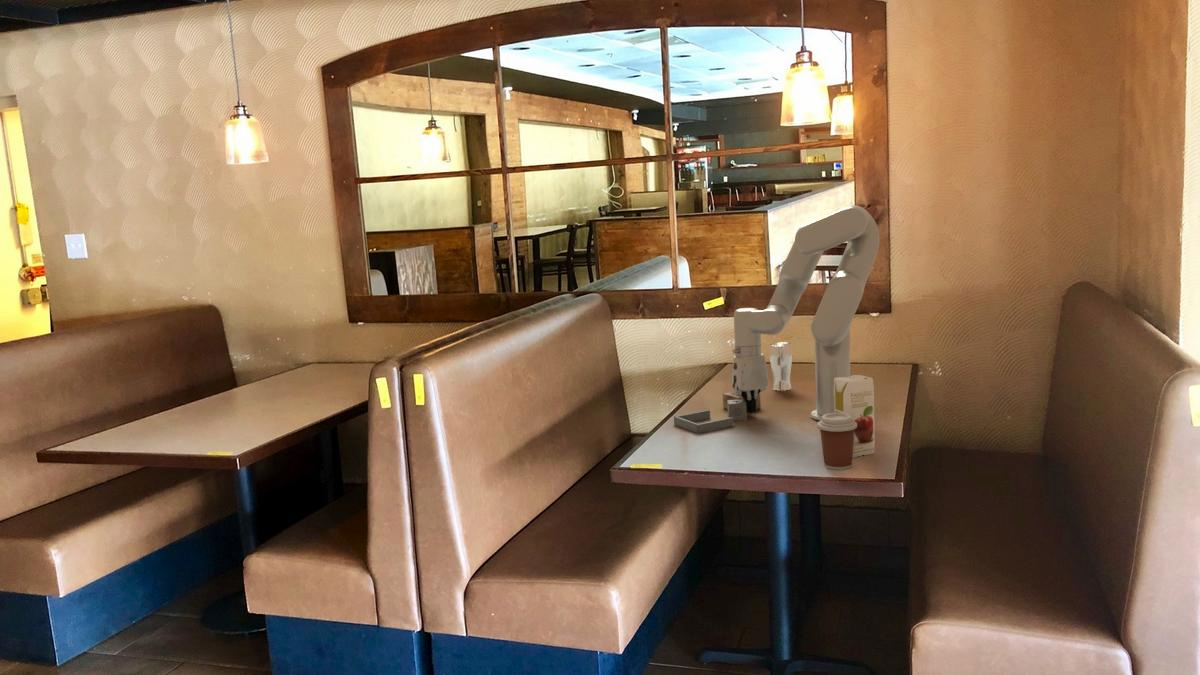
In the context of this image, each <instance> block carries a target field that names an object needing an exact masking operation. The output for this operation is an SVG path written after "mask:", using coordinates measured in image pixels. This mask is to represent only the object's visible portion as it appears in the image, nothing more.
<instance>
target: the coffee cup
mask: <svg viewBox="0 0 1200 675" xmlns="http://www.w3.org/2000/svg"><path fill="white" fill-rule="evenodd" d="M816 426H817V429H818V430H819V431H820V439H821V447H822V455H823V457H822V458H823V466H824V467H825V468H826V467H827V468H826V469H828V468H829V470H833V469H835V470H834V471H839V470H840V471H843V469H844V470H849V469H851V468H852V467H853V458H852V456H853V441H854V429H856V428H857V423H856V422H855V421H854V420H853V419H852V416H851V415H849V414H845V413H829V414H825V415H823V416H822V420H821V421H819V420H818V422H817V424H816Z"/></svg>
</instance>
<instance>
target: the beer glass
mask: <svg viewBox="0 0 1200 675" xmlns="http://www.w3.org/2000/svg"><path fill="white" fill-rule="evenodd" d="M769 345H770V346H769V347H770V348H769V349H770V350H769V360H770V362H769V363H770V367H771V371H772V378H773V384H772V390H773V391H774V390H777V391H776V392H787V391H786V390H789V391H791V390H792V384H791V371H792V370H791V369H792V363H793V362H792V361H793V356H792V354H793V353H792V352H793V351H792V347H791V346H792V344H791V343H790V342H774V343H773V342H772V343H770V344H769ZM790 389H791V390H790Z"/></svg>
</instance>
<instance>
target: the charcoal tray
mask: <svg viewBox="0 0 1200 675" xmlns="http://www.w3.org/2000/svg"><path fill="white" fill-rule="evenodd" d="M709 419H711V411H710V409H706V410H700V411H696V412H691V413H690V412H689V413H686V414H680V415H676V416H674V417H673V422H674V424H673V425H675V426H676V427H680V428H682V429H685V430H687V431H690V432H693V433H697V434H702V433H706V432H711V431H716V429H717V430H721V429H720V428H722V429H725V428H724V427H726V428H730V427H729V426H731V427H734V426H735V421H734V418H733V417H730V418H728V417H726V418H721V419H718V420H711V421H707V422H702V423H697V422H698V421H704V420H709ZM733 425H734V426H733Z"/></svg>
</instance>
